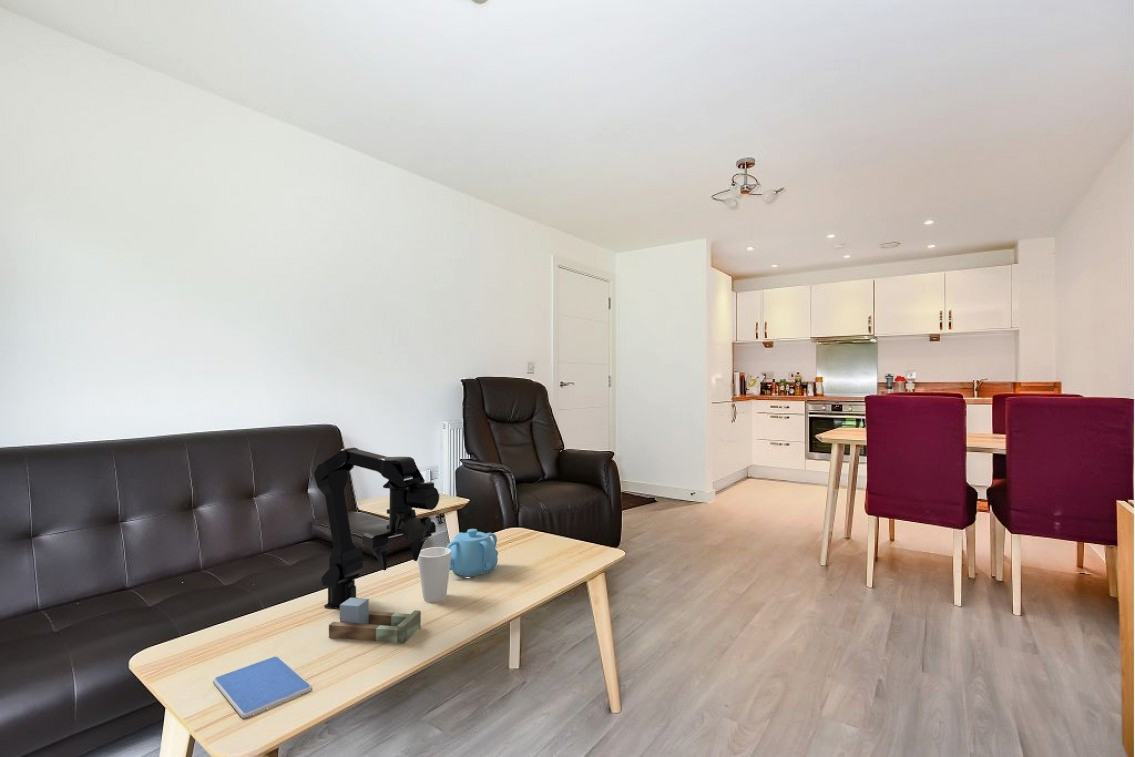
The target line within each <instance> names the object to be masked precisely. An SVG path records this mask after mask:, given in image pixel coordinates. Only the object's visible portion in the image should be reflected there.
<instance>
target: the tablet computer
mask: <svg viewBox="0 0 1135 757" xmlns="http://www.w3.org/2000/svg"><path fill="white" fill-rule="evenodd" d="M212 683H213V685H214V686H216V688H217V689H218V690H219V692H220V693H221V694H222V695H223V696H224V698H226V700H227V701H228V702H229V703H230V705H231V706H232V707H233V708H234V710H235V711H236V713H237V714H238V715H239V717H241V718H242V719H246V717H247V718H249V717H248V716H250V717H252V716H251V715H253V714H255V715H257V714H256V713H258V712H260V713H262V712H261V711H263V710H265V709H267V708H270V707H272V708H274V707H273V706H275V705H277V704H279V705H281V704H280V703H282V702H284V703H286V702H288V701H287V700H289V701H290V699H291V700H293V699H295V698H294V697H296V698H298V697H300V696H302V695H301V694H303V695H304V693H305V694H307V693H309V692H310V691H312V689H313V685H312V684H310V682H308V681H307V680H306V679H304V678H303V677H302V675H300V674H299V673H298V672H297V671H295V670H294V669H293V668H292V667H291V666H289V665H288V664H287V663H286V662H285V661H284V660H283V659H281V658H280V657H279V656H272V657H269V658H266V659H264V660H261V661H258V662H255V663H252V664H250V665H247V666H243V667H241V668H238V669H235V670H233V671H230V672H227V673H224V674H221V675H219V676H216V677H215V678H213V681H212ZM306 692H307V693H306ZM299 695H300V696H299ZM297 696H298V697H297ZM292 698H293V699H292ZM285 701H286V702H285ZM282 704H283V703H282ZM277 706H278V705H277ZM275 707H276V706H275ZM270 709H271V708H270ZM267 710H268V709H267ZM265 711H266V710H265ZM263 712H264V711H263ZM258 714H259V713H258ZM253 716H254V715H253Z"/></svg>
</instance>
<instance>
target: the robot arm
mask: <svg viewBox="0 0 1135 757" xmlns="http://www.w3.org/2000/svg"><path fill="white" fill-rule="evenodd" d="M355 466H356V467H359V468H362V469H366V470H370V471H374V472H376V473H379V474H380V475H381V476H382V477H383V478H384V479H386V480H388V481H386V483H384V484H383V485H382V487H383V489H389V509H386V514H387V515H389V521H388V523H389V524H387V525H386V530H388V531H382V530H379V529H375V530H371V531H367V532H366V531H365V532H364V533H363V535H362V537H361V538H362V539H361V540H362V541H361V542H362V545H365V546H366V547H369V548H371V550H372V551H373V553H374V554H375V556H376V559H377V560H378V562H379V565H380V567H381V570H383V571H387V567H388V566H387V565H388V559H387V558H388V554H387V553H388V552H387V551H388V549H389V547H390V545H388V542H389V540H391V539H396V538H399V537H403V536H404V537H405V539H406V540H407V541H410V542H411V550H412V560H413V561H414V562H417V560H418V557H419V554H420V551H421V550H423V549H422V548H423V547H424V546H423V545H424V544H425V541H427V539H429V538H430V537H432V536H433V534H434V533H435V534H436V533H437V526H436V523H435V522H434V521H432V518H431V516H429V515H428V516H423V517H417V515H416V514H417V512H416V509H419V510H426V511H432V510H433V511H434V510H435V509H436V508H437V507H438V505H439V502H440V493H439V491H438V489H437V488H436V487H435V482H432V481H431V482H430V481H429V482H425V481H426V480H425V478H424V477H423V475H422V473H421V471H420V469H419V467H418V465H417V464H416V462H415V459H414V458H413V457H411V456H385V455H383V454H377V453H374V452H370V451H367V450H363V449H359V448H356V447H348V448H342V449H341V450H339V451H338V452H337V453H336V454H334V455H333V456H331V457H329V458H327V459H326V460H324V461H323V462H322V463H319V464H318V465H317V466H316V468H315V469H314V472H313V475H314V480H315V482H316V485H317V488H318V489H319V491H320V492H321V493H322V494H323V495H324V498H325V503H326V509H327V516H328V522H329V528H330V535H331V541H332V550H331V553H330V555H329V559H328V562H329V564H328V565H329V567H328V569H327V570H326V572H325V573H324V574H323V575H322V576H321V577H320V578H321V582H322V585H323V586H326V587H327V603H326V604H324V605H323V607H324V608H330V609H340V604H342V603H343V602H345V601H346V600H348V599H349V598H357V586H356V584H355V579H358V578H359V577H360V575H361V572H362V569H363V568H364V562H365V558H364V555H363V554H364V553H363V548H362V546H359V547H358V546H356V544H355V543H354V541H353V537H352V531H351V526H350V519H349V512H348V507H347V501H346V495H345V490H346V487H347V485H348V483H349V473H350V472H351V471H352V470H353V469H354V468H355Z"/></svg>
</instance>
